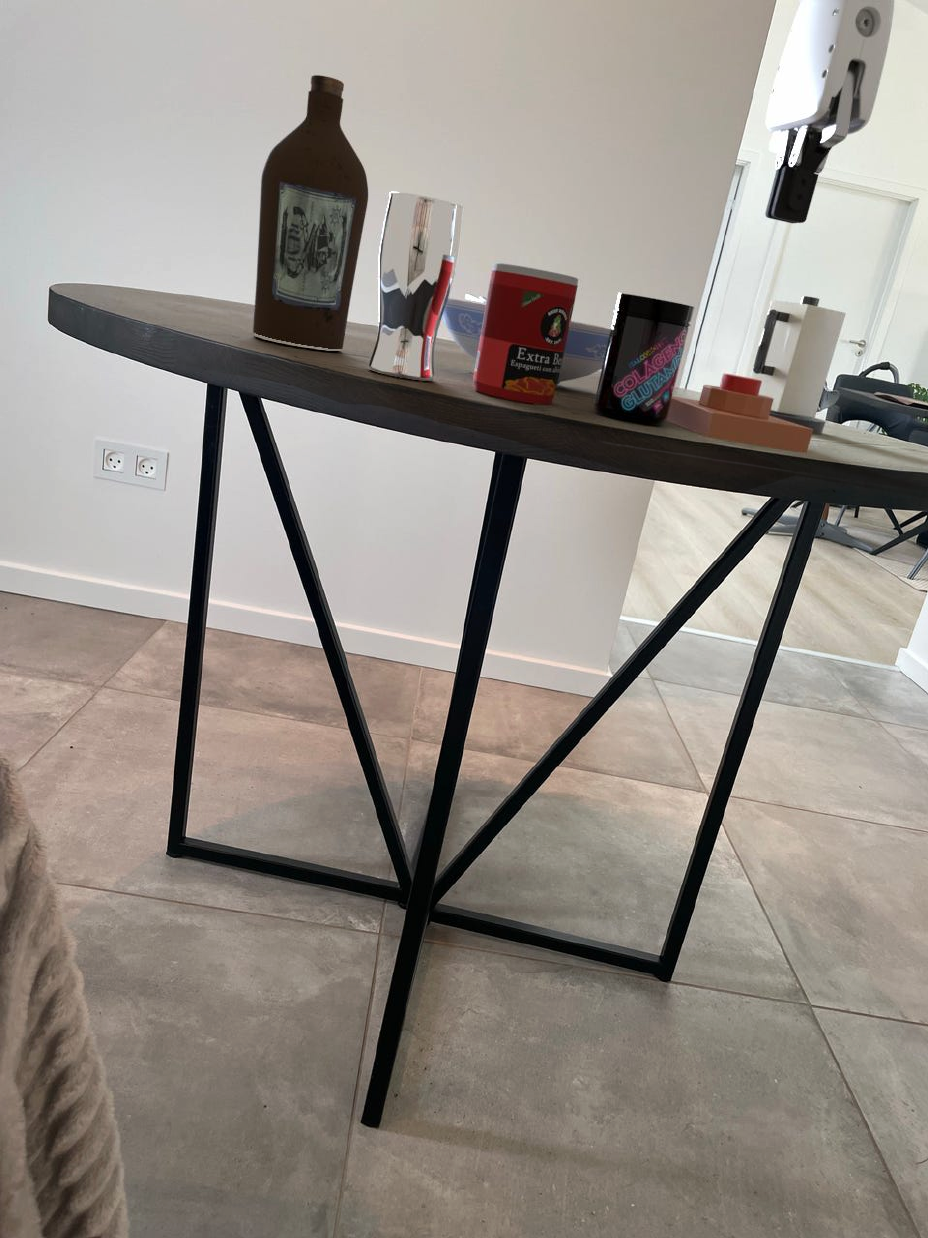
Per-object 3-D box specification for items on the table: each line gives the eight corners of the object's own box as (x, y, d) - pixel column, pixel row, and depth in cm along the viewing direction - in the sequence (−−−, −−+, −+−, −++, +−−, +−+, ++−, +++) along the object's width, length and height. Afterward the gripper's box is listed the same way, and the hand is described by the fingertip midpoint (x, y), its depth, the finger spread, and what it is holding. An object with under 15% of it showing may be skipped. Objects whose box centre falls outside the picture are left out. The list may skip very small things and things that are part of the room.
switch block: (744, 430, 95) (755, 391, 94) (806, 453, 84) (819, 409, 83) (655, 416, 93) (664, 375, 91) (707, 437, 82) (719, 391, 80)
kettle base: (713, 410, 115) (716, 398, 115) (791, 423, 118) (794, 412, 117) (756, 425, 105) (759, 411, 105) (840, 439, 108) (844, 426, 107)
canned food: (507, 401, 80) (532, 267, 76) (453, 384, 86) (475, 259, 82) (571, 408, 84) (598, 281, 81) (516, 392, 90) (539, 273, 87)
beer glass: (408, 372, 90) (434, 206, 85) (453, 385, 85) (483, 210, 80) (348, 365, 85) (372, 189, 81) (392, 378, 81) (419, 193, 76)
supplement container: (589, 415, 81) (616, 291, 78) (593, 409, 87) (618, 294, 84) (665, 431, 80) (696, 306, 77) (664, 424, 87) (693, 308, 83)
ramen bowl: (641, 410, 96) (660, 329, 93) (422, 370, 94) (436, 286, 92) (603, 387, 119) (618, 322, 117) (428, 355, 118) (439, 288, 115)
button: (745, 396, 89) (750, 377, 89) (763, 401, 86) (769, 382, 85) (711, 390, 88) (716, 371, 88) (729, 395, 85) (734, 376, 84)
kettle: (792, 410, 116) (823, 302, 112) (828, 419, 111) (862, 306, 107) (727, 400, 111) (757, 287, 107) (761, 409, 106) (794, 291, 102)
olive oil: (245, 331, 101) (269, 75, 93) (341, 347, 104) (373, 100, 96) (247, 340, 92) (275, 55, 83) (353, 357, 95) (390, 83, 86)
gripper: (948, -33, 70) (871, 225, 76) (837, 14, 84) (779, 230, 90) (862, -60, 68) (790, 207, 74) (763, -7, 82) (709, 215, 88)
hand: (784, 219), depth 82 cm, fingers closed
